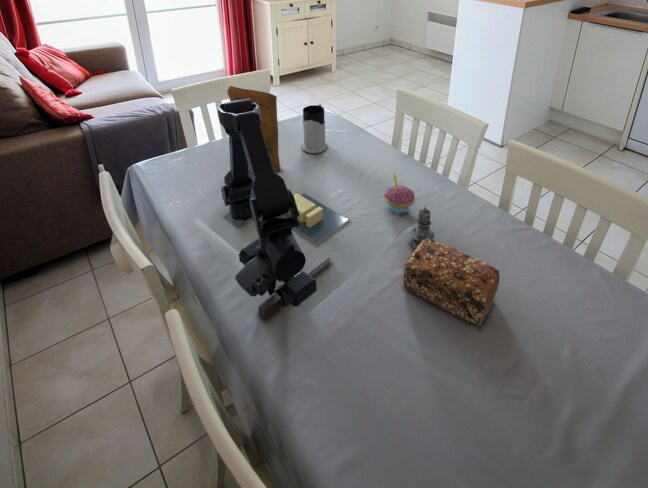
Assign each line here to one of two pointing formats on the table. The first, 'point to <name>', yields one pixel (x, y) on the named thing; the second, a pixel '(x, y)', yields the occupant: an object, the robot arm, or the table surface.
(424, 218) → the grey figurine
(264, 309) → the knife
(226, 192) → the robot arm
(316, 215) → the butter slice
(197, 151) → the table surface
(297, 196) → the butter block
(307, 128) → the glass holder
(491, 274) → the bread
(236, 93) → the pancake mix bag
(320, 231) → the butter dish
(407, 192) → the cupcake
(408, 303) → the table surface
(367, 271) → the table surface
